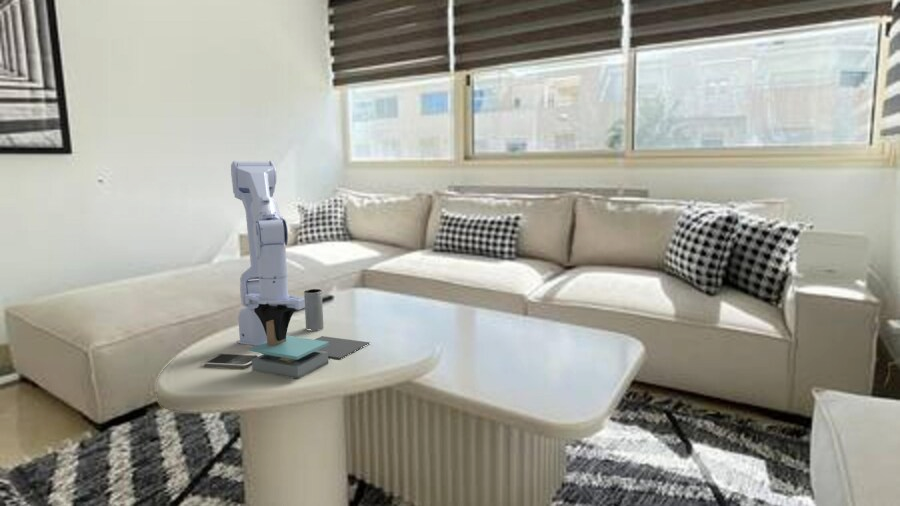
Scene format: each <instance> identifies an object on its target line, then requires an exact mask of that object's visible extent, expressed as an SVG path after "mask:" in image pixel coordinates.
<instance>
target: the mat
mask: <svg viewBox="0 0 900 506" xmlns="http://www.w3.org/2000/svg"><path fill="white" fill-rule="evenodd" d="M314 340H320V341H326V342H329V345H327V346H325V347H323V348H321V349H319V350H318V351H324V352H328V357H329V358H328V359H334V358H336V360H342V359H344V358H346V357H348V356H349V355H348V354H350V353H352V352H354V351H355V350H357V349H359V348H361V347H363V346H365V345H367V344H369V343H370V344H371V342H369V341H362V340H353V339H349V338H348V339H347V338H339V337H331V336H325V335H322V336H320V337H317V338H314ZM370 344H369V345H370ZM367 346H368V345H367ZM365 347H366V346H365ZM363 348H364V347H363ZM361 349H362V348H361ZM359 350H360V349H359ZM354 353H355V352H354ZM352 354H353V353H352ZM347 355H348V356H347ZM350 355H351V354H350ZM345 356H346V357H345ZM343 357H344V358H343ZM341 358H342V359H341Z"/></svg>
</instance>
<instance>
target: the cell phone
mask: <svg viewBox="0 0 900 506" xmlns="http://www.w3.org/2000/svg"><path fill="white" fill-rule="evenodd" d="M258 356H259V355H256V354H255V355H254V354H253V355H251V354H236V353H234V354H231V353H217V354H216V355H214V356H212V357H210V358H208V359H207V360H205V361H203V362H201V364H200V366H201V367H203V368H218V369H219V368H220V369H221V368H223V369H224V368H225V369H240V370H242V369H248V368H251V367H252V359H254V358H256V357H258Z"/></svg>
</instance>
